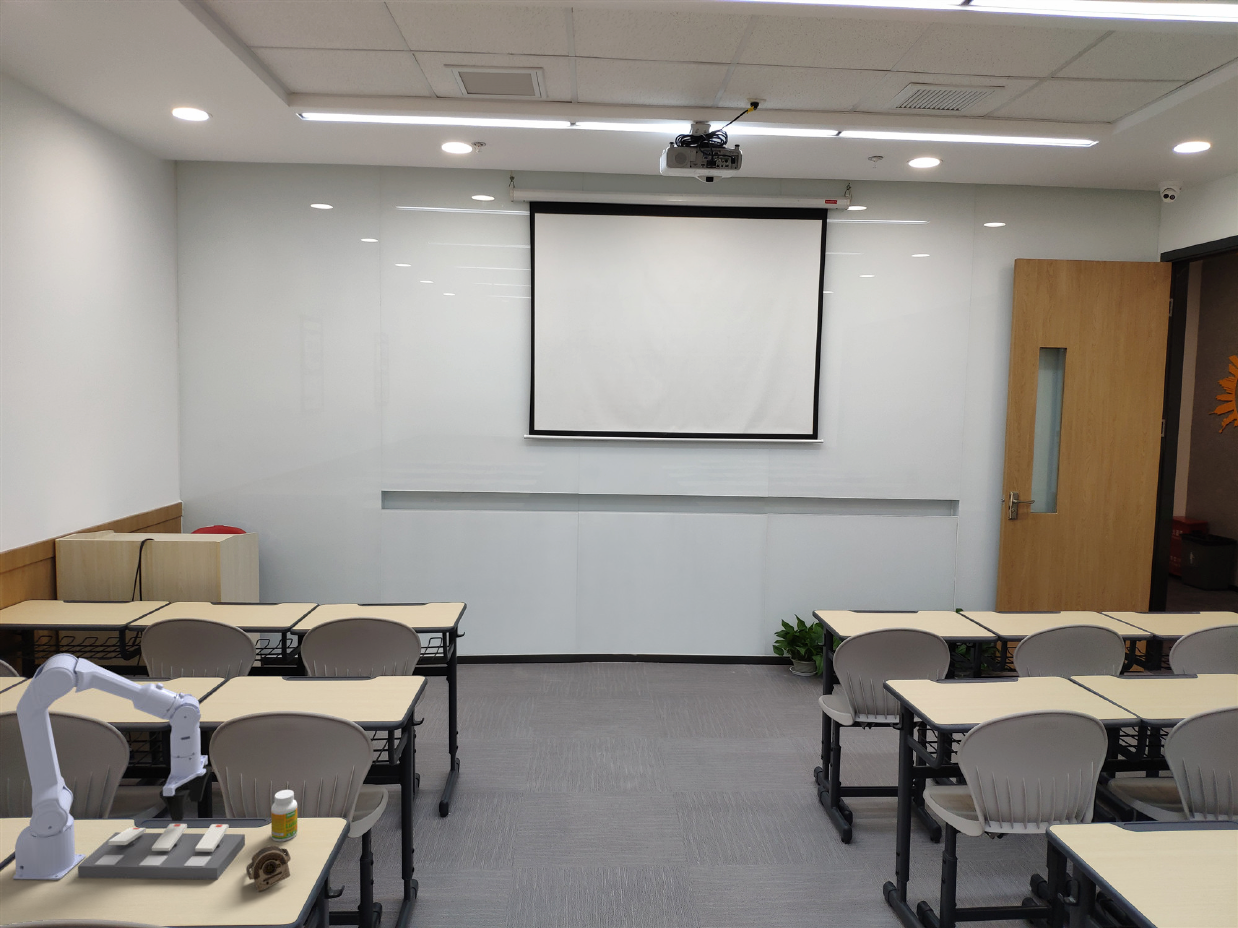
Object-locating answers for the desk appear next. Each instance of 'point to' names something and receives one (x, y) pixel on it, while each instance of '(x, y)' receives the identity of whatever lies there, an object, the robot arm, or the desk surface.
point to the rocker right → (212, 838)
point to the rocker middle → (169, 837)
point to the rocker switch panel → (161, 858)
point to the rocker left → (126, 836)
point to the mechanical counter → (269, 866)
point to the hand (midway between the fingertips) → (187, 810)
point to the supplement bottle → (284, 816)
